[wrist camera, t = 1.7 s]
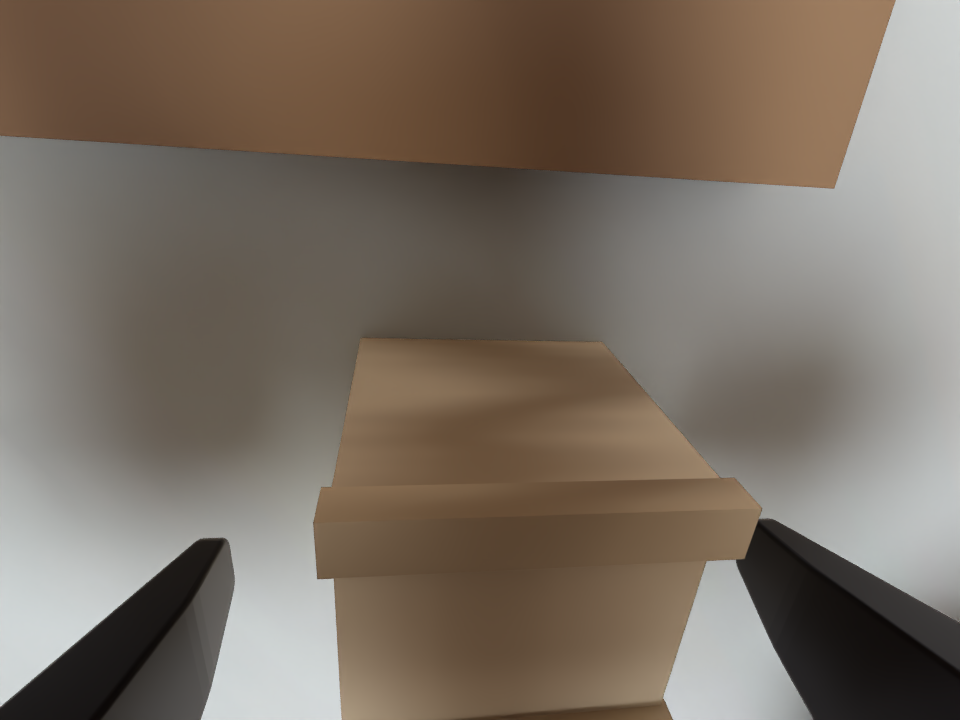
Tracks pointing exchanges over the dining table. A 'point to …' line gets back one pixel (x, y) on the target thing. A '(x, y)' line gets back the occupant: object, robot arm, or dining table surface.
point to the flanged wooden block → (514, 534)
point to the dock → (456, 80)
